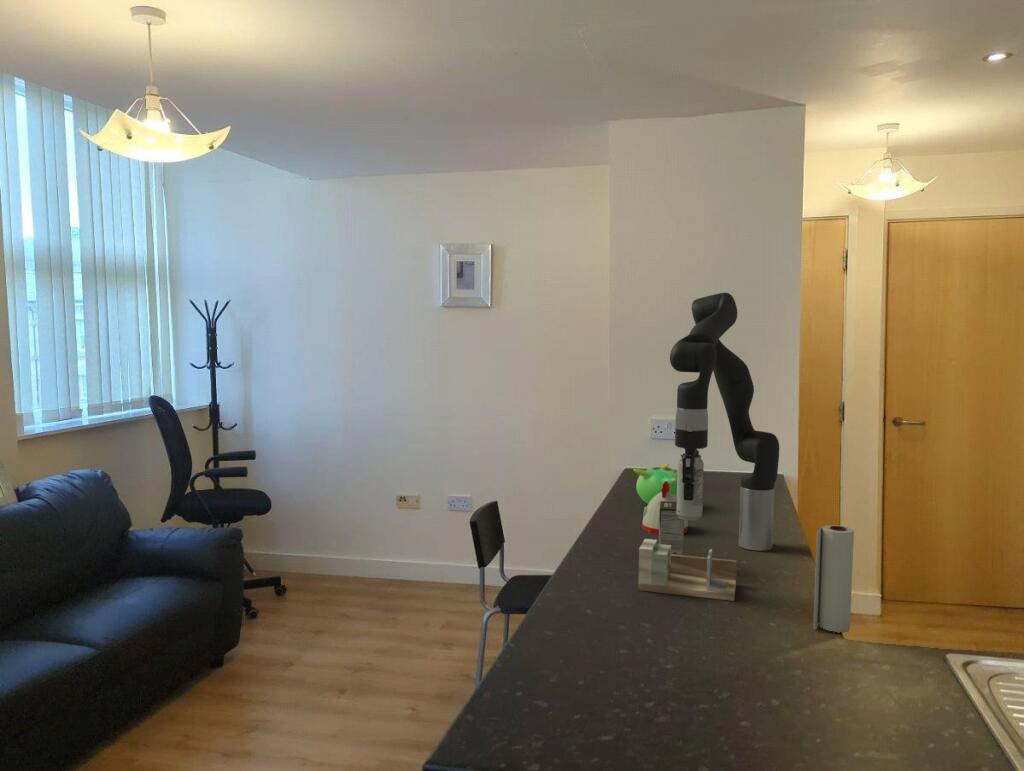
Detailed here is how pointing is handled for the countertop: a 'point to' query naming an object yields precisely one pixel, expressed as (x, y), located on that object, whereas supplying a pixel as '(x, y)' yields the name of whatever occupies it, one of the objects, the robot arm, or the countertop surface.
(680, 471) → the energy drink can
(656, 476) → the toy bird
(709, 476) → the countertop surface
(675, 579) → the wooden desk organizer
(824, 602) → the paper towel roll
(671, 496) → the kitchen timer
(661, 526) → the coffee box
